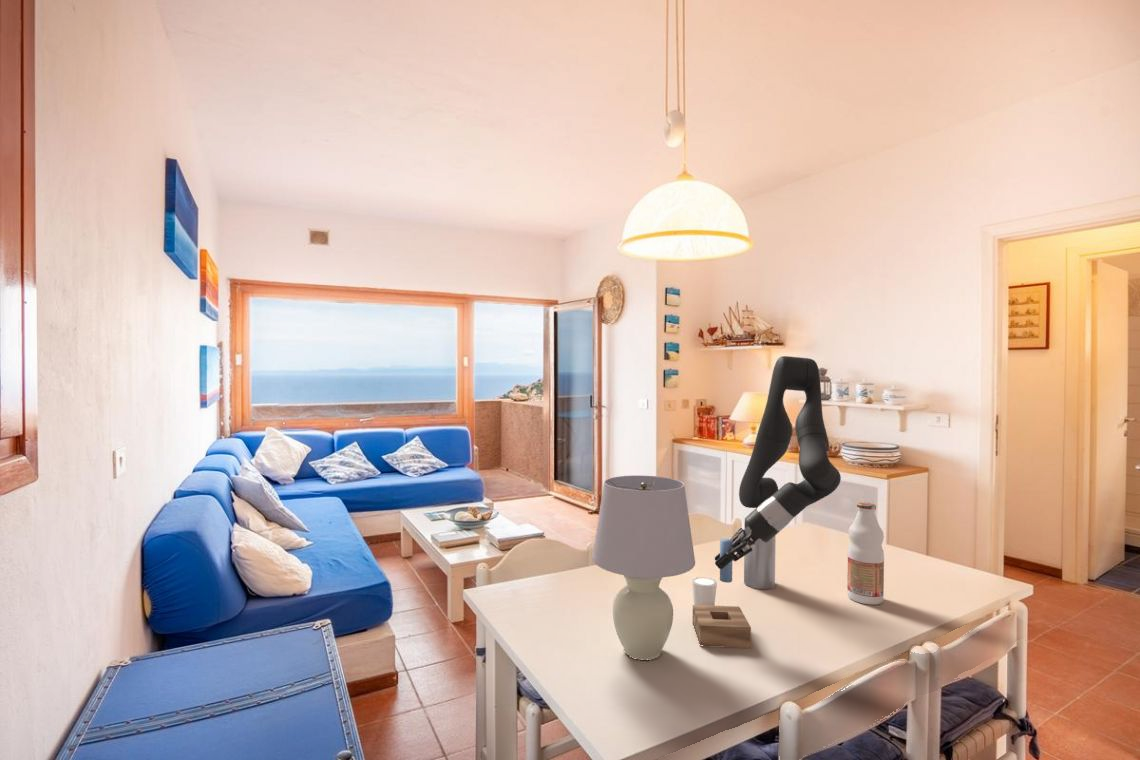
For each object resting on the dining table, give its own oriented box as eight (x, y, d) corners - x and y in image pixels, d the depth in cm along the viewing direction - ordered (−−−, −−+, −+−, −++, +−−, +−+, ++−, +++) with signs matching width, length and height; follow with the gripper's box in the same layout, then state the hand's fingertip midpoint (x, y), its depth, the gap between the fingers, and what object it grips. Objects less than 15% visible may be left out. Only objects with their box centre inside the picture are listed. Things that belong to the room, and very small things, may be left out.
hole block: (692, 623, 146) (692, 604, 146) (739, 625, 146) (739, 606, 146) (699, 646, 134) (700, 625, 134) (750, 648, 134) (750, 627, 134)
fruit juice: (858, 605, 159) (859, 507, 158) (840, 592, 168) (842, 500, 168) (890, 605, 159) (891, 507, 159) (871, 592, 168) (872, 500, 168)
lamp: (622, 689, 116) (623, 497, 115) (575, 638, 138) (576, 477, 137) (716, 666, 125) (717, 488, 125) (658, 622, 147) (659, 471, 147)
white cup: (702, 612, 153) (703, 587, 153) (686, 603, 159) (686, 579, 159) (721, 608, 157) (722, 583, 156) (705, 599, 163) (705, 575, 163)
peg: (718, 577, 141) (718, 538, 141) (730, 578, 141) (730, 538, 141) (721, 582, 138) (721, 542, 138) (733, 582, 138) (733, 542, 138)
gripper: (755, 500, 145) (706, 544, 147) (760, 514, 131) (706, 561, 134) (776, 522, 143) (726, 566, 146) (784, 538, 130) (729, 585, 133)
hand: (717, 563), depth 140 cm, fingers closed on peg, 3 cm apart
